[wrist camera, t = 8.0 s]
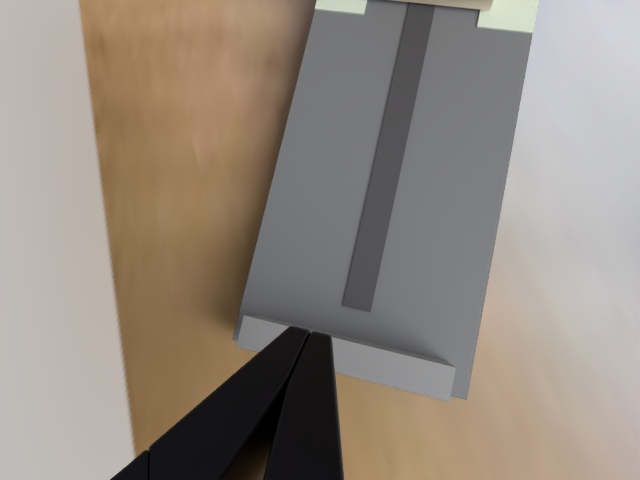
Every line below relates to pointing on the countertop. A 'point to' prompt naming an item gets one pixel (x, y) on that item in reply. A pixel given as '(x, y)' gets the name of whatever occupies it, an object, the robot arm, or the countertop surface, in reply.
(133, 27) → the countertop surface
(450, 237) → the grooved grey tray
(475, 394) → the countertop surface
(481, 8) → the wooden rectangular block
